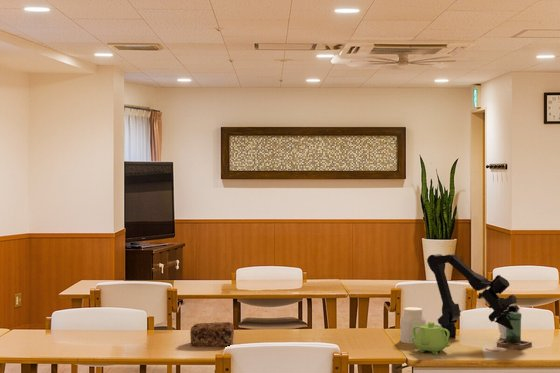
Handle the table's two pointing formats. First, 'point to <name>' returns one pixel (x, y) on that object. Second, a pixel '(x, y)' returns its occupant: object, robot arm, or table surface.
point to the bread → (212, 334)
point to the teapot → (431, 338)
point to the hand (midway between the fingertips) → (516, 328)
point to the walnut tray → (514, 345)
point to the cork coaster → (495, 349)
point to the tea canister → (514, 327)
